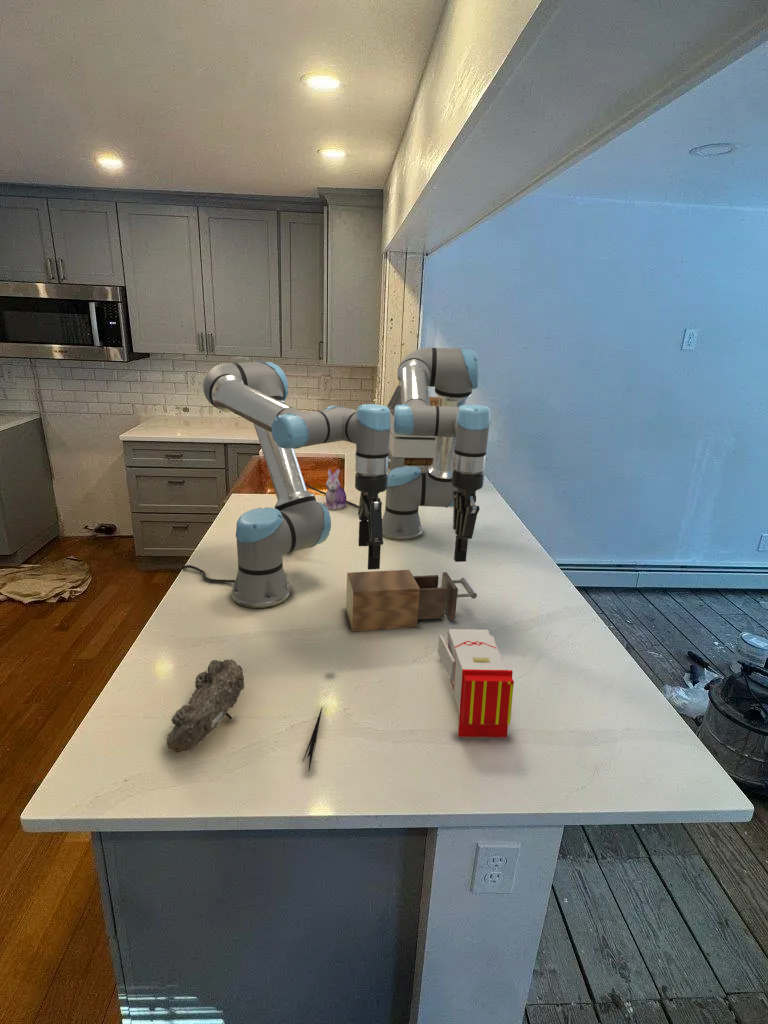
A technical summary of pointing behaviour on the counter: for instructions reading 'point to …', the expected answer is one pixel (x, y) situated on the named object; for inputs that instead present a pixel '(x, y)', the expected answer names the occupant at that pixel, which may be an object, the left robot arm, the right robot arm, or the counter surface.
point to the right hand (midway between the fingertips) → (459, 560)
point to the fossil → (206, 705)
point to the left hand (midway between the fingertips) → (368, 556)
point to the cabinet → (382, 600)
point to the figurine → (334, 492)
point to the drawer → (440, 596)
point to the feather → (313, 740)
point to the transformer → (409, 441)
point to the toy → (478, 682)
